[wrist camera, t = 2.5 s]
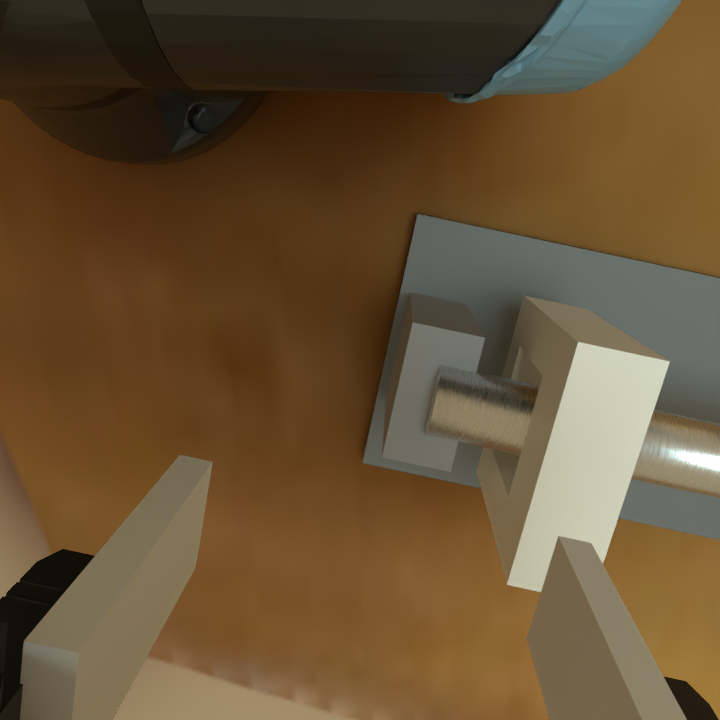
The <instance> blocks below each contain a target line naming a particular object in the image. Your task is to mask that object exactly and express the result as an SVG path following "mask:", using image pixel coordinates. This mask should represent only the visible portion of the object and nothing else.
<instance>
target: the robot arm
mask: <svg viewBox="0 0 720 720" xmlns="http://www.w3.org/2000/svg"><path fill="white" fill-rule="evenodd" d="M681 1H682V0H0V99H4V100H9V101H13V102H14V103H15V104H16V105H17V106H18V107H19V108H20V109H21V110H22V111H23V113H25V114H26V115H27V116H28V117H29V118H30V119H31V120H32V121H33V122H34V123H35V124H37V125H38V126H39V127H40V128H41V129H43V130H44V131H46V132H47V133H48V134H50V135H51V136H53V137H55V138H56V139H58V140H59V141H61V142H63V143H65V144H67V145H69V146H71V147H73V148H75V149H77V150H79V151H82V152H84V153H86V154H89V155H92V156H95V157H99V158H103V159H107V160H112V161H118V162H127V163H136V164H163V163H170V162H176V161H180V160H184V159H187V158H190V157H194V156H196V155H198V154H201V153H203V152H205V151H207V150H209V149H211V148H213V147H215V146H216V145H218V144H219V143H221V142H223V141H224V140H225V139H227V138H228V137H229V136H231V135H232V134H233V133H234V132H235V131H236V130H238V129H239V128H240V127H241V126H242V125H243V124H244V123H245V122H246V120H247V119H248V118H249V117H250V116H251V115H252V113H253V112H254V111H255V109H256V108H257V107H258V105H259V104H260V102H261V101H262V99H263V97H264V96H265V94H266V92H267V91H304V92H361V93H417V94H444V95H445V97H446V98H447V99H448V100H450V101H453V102H456V103H473V102H475V101H478V100H483V99H488V98H490V97H492V96H494V95H523V94H559V93H569V92H573V91H577V90H581V89H583V88H585V87H587V86H589V85H591V84H592V83H595V82H598V81H601V80H603V79H604V78H605V77H607V76H608V75H611V74H613V73H616V72H617V71H618V70H620V69H621V68H623V67H624V66H625V65H626V64H628V63H629V62H630V61H631V60H632V59H633V58H634V57H636V56H637V54H638V53H639V52H640V51H641V50H642V49H643V48H644V47H645V46H646V45H647V44H648V43H649V42H650V41H651V40H652V39H653V38H654V37H655V36H656V34H657V33H658V32H659V31H660V30H661V28H662V27H663V26H664V24H665V23H666V22H667V21H668V19H669V18H670V17H671V15H672V14H673V13H674V11H675V10H676V8H677V7H678V6H679V4H680V3H681ZM212 463H213V462H211V461H207V460H202V459H197V458H193V457H188V456H183V455H179V456H178V458H177V459H176V460H175V461H174V462H173V464H172V465H171V466H170V467H169V468H168V470H167V471H166V472H165V473H164V474H163V476H162V477H161V478H160V479H159V480H158V482H157V483H156V484H155V485H154V486H153V488H152V489H151V490H150V491H149V492H148V493H147V495H146V496H145V497H144V498H143V499H142V501H141V502H140V503H139V504H138V505H137V507H136V508H135V509H134V510H133V511H132V513H131V514H130V515H129V516H128V517H127V519H126V520H125V521H124V522H123V523H122V525H121V526H120V527H119V528H118V529H117V530H116V532H115V533H114V534H113V535H112V536H111V538H110V539H109V540H108V541H107V542H106V544H105V545H104V546H103V547H102V548H101V550H100V551H99V552H98V553H97V554H96V556H93V555H88V554H83V553H79V552H74V551H70V550H65V549H62V550H60V551H58V552H56V553H54V554H52V555H50V556H48V557H46V558H44V559H41V560H40V561H38V562H36V563H35V565H33V567H31V569H30V570H29V571H28V572H27V573H26V574H25V575H24V576H23V577H22V578H21V579H20V582H17V583H16V584H15V585H14V586H13V587H12V588H11V589H10V590H9V591H8V592H7V594H6V596H5V597H2V598H1V599H0V720H113V718H114V716H115V714H116V712H117V711H118V708H119V707H120V705H121V703H122V701H123V699H124V698H125V696H126V694H127V692H128V690H129V689H130V687H131V685H132V683H133V681H134V679H135V678H136V676H137V674H138V672H139V670H140V668H141V667H142V665H143V663H144V661H145V659H146V657H147V656H148V654H149V652H150V650H151V648H152V646H153V645H154V643H155V641H156V639H157V637H158V635H159V634H160V632H161V630H162V628H163V626H164V624H165V623H166V621H167V619H168V617H169V615H170V613H171V612H172V610H173V608H174V606H175V604H176V602H177V601H178V599H179V597H180V595H181V593H182V591H183V590H184V588H185V586H186V584H187V582H188V580H189V579H190V577H191V575H192V573H193V571H194V569H195V568H196V563H197V556H198V550H199V544H200V538H201V531H202V525H203V519H204V513H205V506H206V500H207V494H208V488H209V482H210V475H211V469H212ZM527 641H528V645H529V648H530V652H531V655H532V659H533V662H534V666H535V670H536V673H537V677H538V680H539V684H540V687H541V691H542V695H543V698H544V702H545V705H546V709H547V712H548V716H549V720H718V718H717V716H716V715H715V713H714V711H713V710H712V708H711V706H710V705H709V703H707V702H706V701H705V700H704V699H703V698H702V697H701V696H700V695H699V694H698V693H697V692H696V691H695V690H694V689H693V688H692V687H691V686H690V685H689V684H688V683H687V682H686V681H682V680H677V679H673V678H668V677H663V675H662V673H661V671H660V669H659V667H658V665H657V664H656V662H655V660H654V658H653V656H652V654H651V652H650V651H649V649H648V647H647V645H646V643H645V641H644V640H643V638H642V636H641V634H640V632H639V630H638V628H637V627H636V625H635V623H634V621H633V619H632V617H631V615H630V614H629V612H628V610H627V608H626V606H625V604H624V602H623V601H622V599H621V597H620V595H619V593H618V591H617V590H616V588H615V586H614V584H613V582H612V580H611V578H610V577H609V575H608V573H607V571H606V569H605V567H604V565H603V564H602V562H601V560H600V558H599V556H598V554H597V552H596V551H595V549H594V547H593V545H592V543H589V542H585V541H580V540H575V539H571V538H566V537H561V536H558V539H557V542H556V545H555V548H554V552H553V555H552V558H551V561H550V565H549V568H548V571H547V574H546V578H545V581H544V584H543V587H542V591H541V594H540V597H539V600H538V604H537V607H536V610H535V613H534V617H533V620H532V623H531V626H530V630H529V633H528V636H527Z"/></svg>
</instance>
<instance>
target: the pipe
mask: <svg viewBox="0 0 720 720" xmlns="http://www.w3.org/2000/svg"><path fill="white" fill-rule="evenodd" d="M539 387H540V385H536V384H531V383H527V382H522V381H517V380H513V379H508V378H503V377H499V376H494V375H489V374H485V373H480V372H476V373H475V372H471V371H466V370H461V369H457V368H452V367H447V366H443V365H440V369H439V373H438V377H437V381H436V385H435V389H434V394H433V398H432V402H431V406H430V410H429V414H428V418H427V422H426V426H425V430H424V434H425V435H429V436H434V437H439V438H443V439H448V440H453V441H457V442H462V443H467V444H471V445H476V446H481V447H485V448H490V449H495V450H499V451H504V452H509V453H513V454H518V455H520V454H521V451H522V447H523V444H524V440H525V437H526V433H527V430H528V426H529V423H530V419H531V416H532V412H533V408H534V405H535V401H536V398H537V394H538V391H539ZM631 479H634V480H639V481H644V482H648V483H653V484H658V485H662V486H667V487H672V488H676V489H681V490H686V491H690V492H695V493H700V494H704V495H709V496H714V497H718V498H720V424H719V423H714V422H709V421H704V420H700V419H695V418H690V417H686V416H681V415H676V414H672V413H667V412H662V411H658V410H654V411H653V414H652V417H651V420H650V423H649V426H648V429H647V432H646V435H645V438H644V441H643V444H642V447H641V450H640V453H639V456H638V459H637V462H636V465H635V468H634V471H633V474H632V477H631Z"/></svg>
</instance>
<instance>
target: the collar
mask: <svg viewBox="0 0 720 720" xmlns="http://www.w3.org/2000/svg"><path fill="white" fill-rule="evenodd" d="M669 363H670V361H668V360H667V359H665V358H664V357H662V356H661V355H659V354H657V353H656V352H654V351H653V350H651V349H649V348H648V347H646V346H645V345H643V344H642V343H640V342H638V341H637V340H635V339H634V338H632V337H631V336H629V335H627V334H626V333H624V332H623V331H621V330H620V329H618V328H616V327H615V326H613V325H612V324H610V323H609V322H607V321H605V320H604V319H602V318H601V317H599V316H598V315H596V314H594V313H593V312H591V311H590V310H588V309H585V308H580V307H575V306H571V305H566V304H561V303H557V302H552V301H547V300H543V299H538V298H533V297H529V296H524V297H523V301H522V304H521V308H520V312H519V315H518V319H517V323H516V327H515V330H514V334H513V338H512V342H511V345H510V349H509V353H508V356H507V360H506V364H505V368H504V371H503V375H502V377H503V378H508V379H513V380H517V381H522V382H527V383H531V384H536V385H540V387H539V391H538V394H537V398H536V401H535V405H534V408H533V412H532V416H531V419H530V423H529V426H528V430H527V433H526V437H525V440H524V444H523V447H522V451H521V454H520V455H518V454H513V453H509V452H504V451H499V450H495V449H490V448H485V447H483V450H482V453H481V457H480V461H479V464H478V468H477V475H478V479H479V483H480V486H481V490H482V494H483V498H484V501H485V505H486V509H487V512H488V516H489V520H490V524H491V527H492V531H493V535H494V539H495V542H496V546H497V550H498V553H499V557H500V561H501V565H502V568H503V572H504V576H505V580H506V583H507V585H511V586H515V587H520V588H524V589H529V590H534V591H538V592H541V591H542V587H543V584H544V581H545V578H546V574H547V571H548V568H549V565H550V561H551V558H552V555H553V552H554V548H555V545H556V542H557V539H558V536H561V537H566V538H571V539H575V540H580V541H585V542H589V543H592V545H593V547H594V549H595V551H596V552H597V554H598V556H599V558H600V560H601V562H602V564H603V562H604V559H605V556H606V553H607V550H608V547H609V544H610V541H611V538H612V535H613V532H614V529H615V526H616V523H617V520H618V517H619V514H620V511H621V508H622V505H623V502H624V499H625V496H626V493H627V490H628V487H629V484H630V480H631V477H632V474H633V471H634V468H635V465H636V462H637V459H638V456H639V453H640V450H641V447H642V444H643V441H644V438H645V435H646V432H647V429H648V426H649V423H650V420H651V417H652V414H653V411H654V408H655V405H656V402H657V399H658V396H659V393H660V390H661V387H662V384H663V381H664V378H665V375H666V372H667V369H668V366H669Z"/></svg>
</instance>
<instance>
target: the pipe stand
mask: <svg viewBox="0 0 720 720" xmlns="http://www.w3.org/2000/svg"><path fill="white" fill-rule="evenodd" d="M524 296H529V297H533V298H538V299H543V300H547V301H552V302H557V303H561V304H566V305H571V306H575V307H580V308H585V309H588V310H590V311H591V312H593V313H594V314H596V315H598V316H599V317H601V318H602V319H604V320H605V321H607V322H609V323H610V324H612V325H613V326H615V327H616V328H618V329H620V330H621V331H623V332H624V333H626V334H627V335H629V336H631V337H632V338H634V339H635V340H637V341H638V342H640V343H642V344H643V345H645V346H646V347H648V348H649V349H651V350H653V351H654V352H656V353H657V354H659V355H661V356H662V357H664V358H665V359H667V360H668V361H670V363H669V366H668V369H667V372H666V375H665V378H664V381H663V384H662V387H661V390H660V393H659V396H658V399H657V402H656V405H655V408H654V410H658V411H662V412H667V413H672V414H676V415H681V416H686V417H690V418H695V419H700V420H704V421H709V422H714V423H719V424H720V277H716V276H711V275H706V274H702V273H697V272H692V271H688V270H683V269H678V268H673V267H669V266H664V265H659V264H655V263H650V262H645V261H640V260H636V259H631V258H626V257H622V256H617V255H612V254H607V253H603V252H598V251H593V250H589V249H584V248H579V247H574V246H570V245H565V244H560V243H556V242H551V241H546V240H541V239H537V238H532V237H527V236H523V235H518V234H513V233H508V232H504V231H499V230H494V229H490V228H485V227H480V226H476V225H471V224H466V223H461V222H457V221H452V220H447V219H443V218H438V217H433V216H428V215H424V214H419V213H417V215H416V220H415V224H414V229H413V233H412V238H411V242H410V247H409V252H408V256H407V261H406V265H405V270H404V274H403V279H402V283H401V288H400V292H399V297H398V301H397V306H396V310H395V315H394V319H393V324H392V328H391V333H390V337H389V342H388V346H387V351H386V355H385V360H384V364H383V369H382V373H381V378H380V382H379V387H378V392H377V396H376V401H375V405H374V410H373V414H372V419H371V423H370V428H369V432H368V437H367V441H366V446H365V450H364V456H363V463H365V464H369V465H374V466H379V467H383V468H388V469H393V470H397V471H402V472H407V473H411V474H416V475H421V476H425V477H430V478H435V479H439V480H444V481H449V482H453V483H458V484H462V485H467V486H472V487H476V488H481V486H480V483H479V479H478V475H477V468H478V464H479V461H480V457H481V453H482V450H483V447H481V446H476V445H471V444H467V443H462V442H457V441H453V440H448V439H443V438H439V437H434V436H429V435H425V434H424V430H425V426H426V422H427V418H428V414H429V410H430V406H431V402H432V398H433V394H434V389H435V385H436V381H437V377H438V373H439V369H440V365H443V366H447V367H452V368H457V369H461V370H466V371H471V372H475V373H476V372H480V373H485V374H489V375H494V376H499V377H502V375H503V371H504V368H505V364H506V360H507V356H508V353H509V349H510V345H511V342H512V338H513V334H514V330H515V327H516V323H517V319H518V315H519V312H520V308H521V304H522V301H523V297H524ZM618 518H621V519H625V520H630V521H634V522H639V523H644V524H648V525H653V526H658V527H662V528H667V529H672V530H676V531H681V532H686V533H690V534H695V535H700V536H704V537H709V538H714V539H718V540H720V498H718V497H714V496H709V495H704V494H700V493H695V492H690V491H686V490H681V489H676V488H672V487H667V486H662V485H658V484H653V483H648V482H644V481H639V480H634V479H631V480H630V484H629V487H628V490H627V493H626V496H625V499H624V502H623V505H622V508H621V511H620V514H619V517H618Z"/></svg>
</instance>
